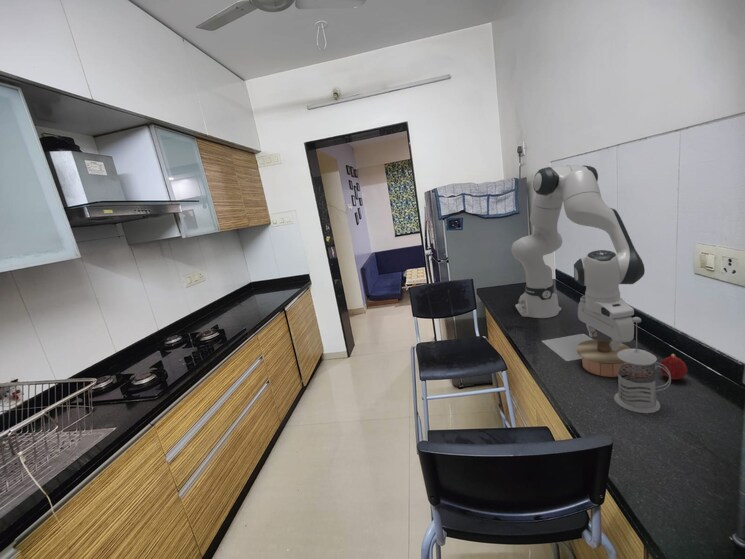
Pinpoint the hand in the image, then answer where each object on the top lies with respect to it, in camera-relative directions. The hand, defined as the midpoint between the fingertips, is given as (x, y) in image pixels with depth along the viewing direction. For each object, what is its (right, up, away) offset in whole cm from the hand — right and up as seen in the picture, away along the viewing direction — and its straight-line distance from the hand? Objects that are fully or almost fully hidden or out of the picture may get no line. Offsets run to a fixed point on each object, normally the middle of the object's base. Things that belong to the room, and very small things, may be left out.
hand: (603, 342), depth 101 cm
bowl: (+2, -8, +2) cm, 9 cm away
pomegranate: (+14, -9, -9) cm, 19 cm away
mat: (+2, -5, +16) cm, 17 cm away
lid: (+1, -3, +1) cm, 3 cm away
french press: (-1, -13, -16) cm, 20 cm away
